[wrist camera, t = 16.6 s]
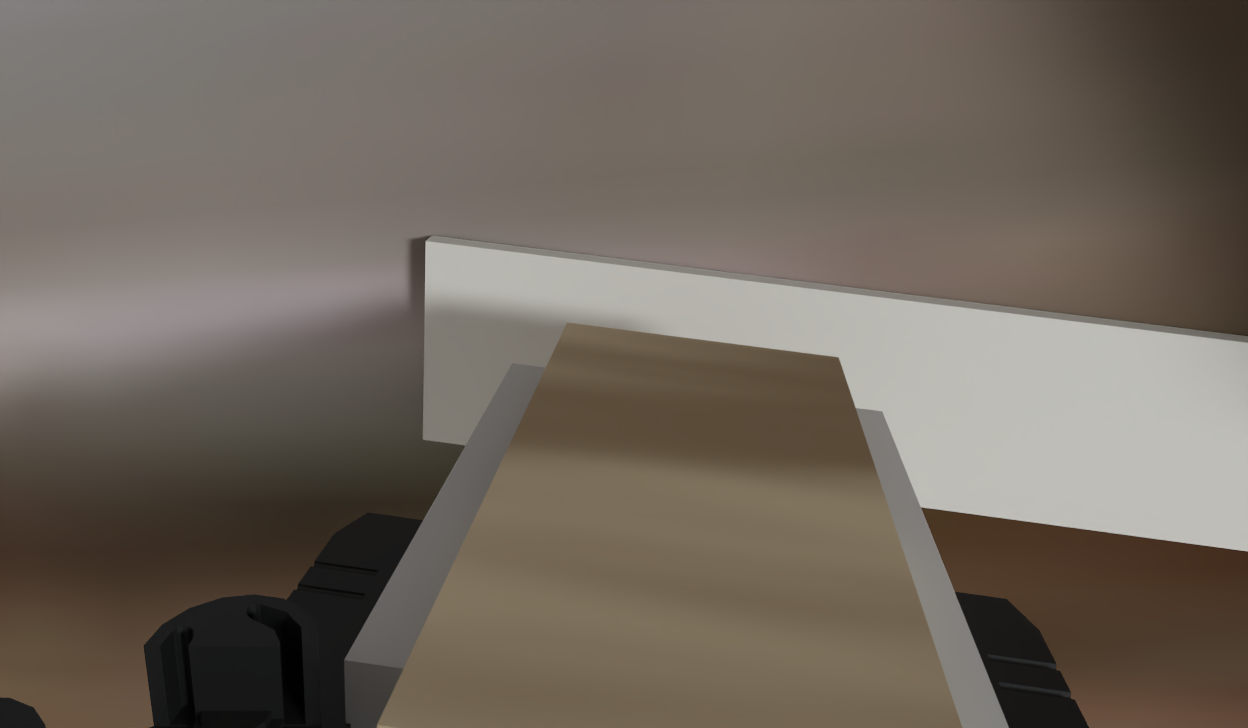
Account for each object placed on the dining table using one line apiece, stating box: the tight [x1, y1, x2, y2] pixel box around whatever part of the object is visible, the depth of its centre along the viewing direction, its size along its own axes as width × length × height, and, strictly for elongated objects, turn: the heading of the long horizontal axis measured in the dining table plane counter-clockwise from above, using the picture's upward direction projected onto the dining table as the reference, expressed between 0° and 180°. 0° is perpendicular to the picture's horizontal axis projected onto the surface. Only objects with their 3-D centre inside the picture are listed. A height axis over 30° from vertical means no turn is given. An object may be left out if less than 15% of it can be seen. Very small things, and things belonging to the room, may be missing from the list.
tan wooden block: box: [377, 323, 962, 728], centre depth 10 cm, size 4×4×9 cm
